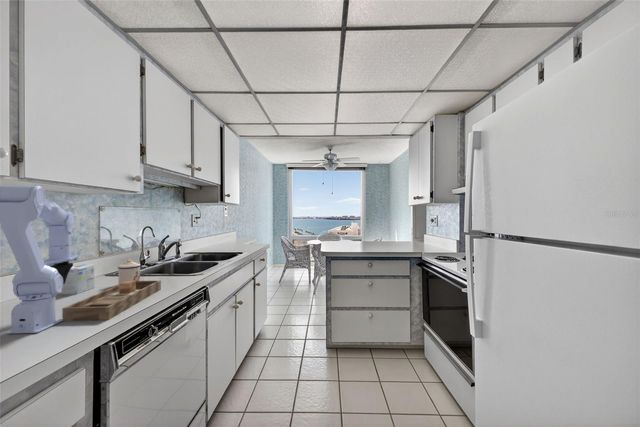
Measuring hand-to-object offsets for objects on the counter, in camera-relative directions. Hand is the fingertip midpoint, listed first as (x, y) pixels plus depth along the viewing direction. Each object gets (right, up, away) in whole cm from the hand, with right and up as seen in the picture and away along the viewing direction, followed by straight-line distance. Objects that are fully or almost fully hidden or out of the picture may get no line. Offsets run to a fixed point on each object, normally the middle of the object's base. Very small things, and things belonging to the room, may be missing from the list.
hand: (60, 284), depth 100 cm
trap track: (+14, -9, +10) cm, 19 cm away
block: (+13, -7, +16) cm, 22 cm away
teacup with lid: (-1, -9, +39) cm, 40 cm away
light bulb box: (-15, -9, +26) cm, 31 cm away
